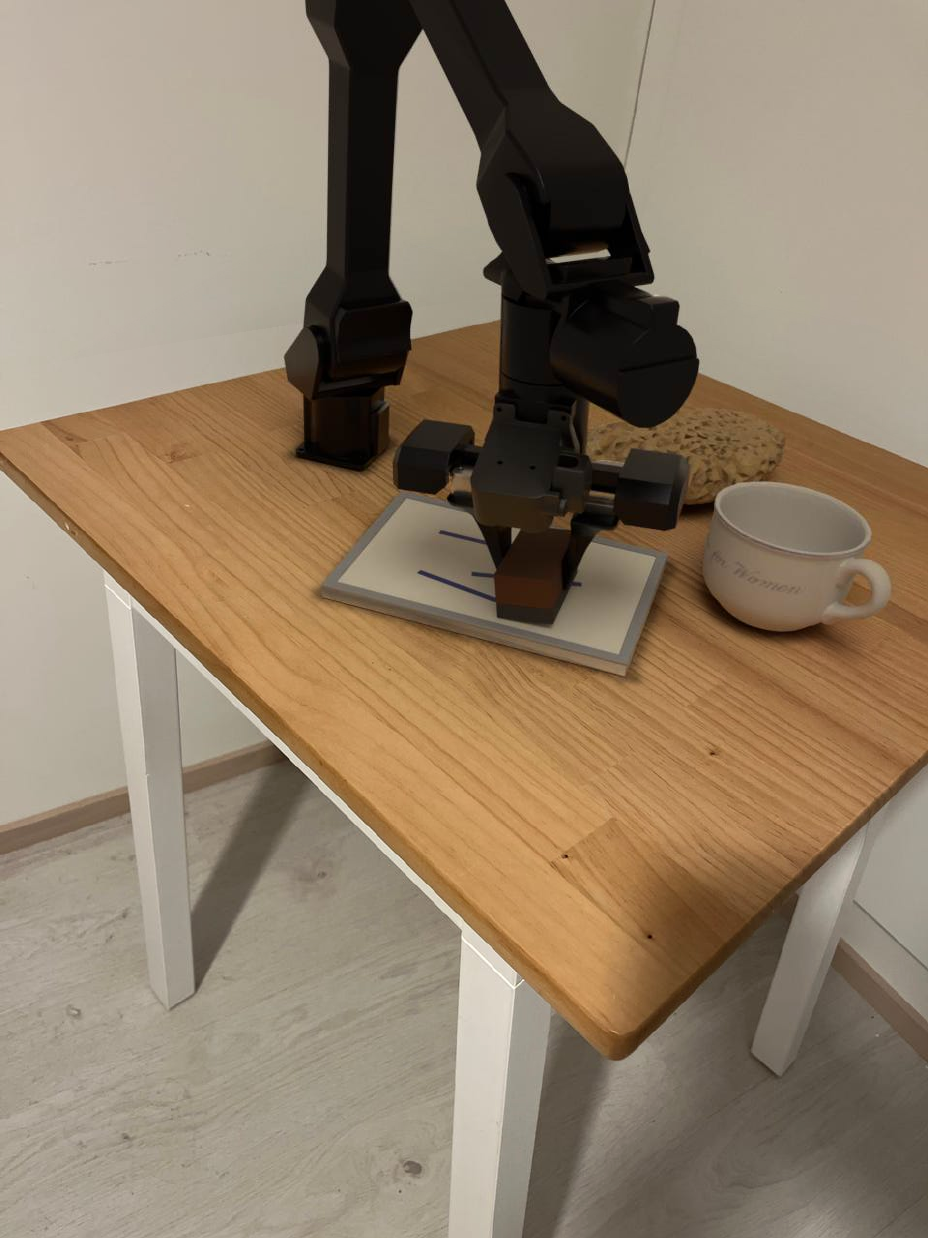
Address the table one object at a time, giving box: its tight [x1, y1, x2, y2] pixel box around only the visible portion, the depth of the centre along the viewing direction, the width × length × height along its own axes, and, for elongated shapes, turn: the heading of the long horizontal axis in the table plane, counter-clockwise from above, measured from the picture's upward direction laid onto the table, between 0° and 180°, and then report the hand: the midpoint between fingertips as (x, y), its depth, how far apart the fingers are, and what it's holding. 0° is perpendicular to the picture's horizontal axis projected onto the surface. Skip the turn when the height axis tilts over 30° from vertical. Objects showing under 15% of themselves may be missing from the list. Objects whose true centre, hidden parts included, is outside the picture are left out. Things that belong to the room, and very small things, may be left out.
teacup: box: [702, 480, 892, 633], centre depth 75 cm, size 14×11×8 cm
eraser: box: [494, 528, 578, 624], centre depth 75 cm, size 4×7×4 cm, turn 161°
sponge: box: [586, 406, 787, 506], centre depth 91 cm, size 13×8×20 cm
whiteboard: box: [321, 490, 670, 678], centre depth 79 cm, size 22×15×1 cm
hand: (534, 581), depth 75 cm, fingers closed on eraser, 4 cm apart
